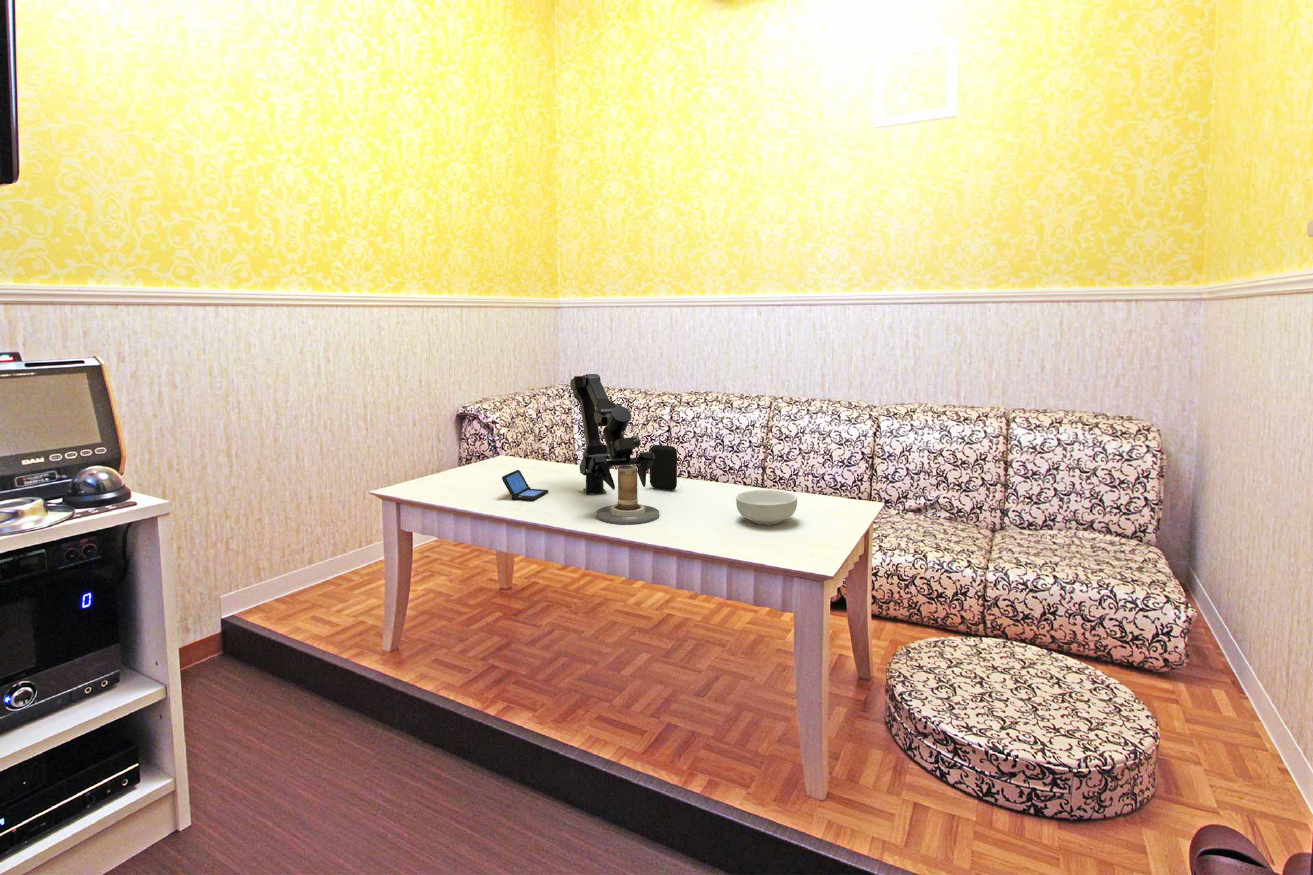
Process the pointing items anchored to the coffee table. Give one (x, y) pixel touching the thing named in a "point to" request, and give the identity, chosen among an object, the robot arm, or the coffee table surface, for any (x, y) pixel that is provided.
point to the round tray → (627, 515)
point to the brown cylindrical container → (627, 488)
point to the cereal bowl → (766, 506)
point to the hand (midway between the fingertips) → (629, 487)
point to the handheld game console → (521, 487)
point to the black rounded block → (664, 467)
